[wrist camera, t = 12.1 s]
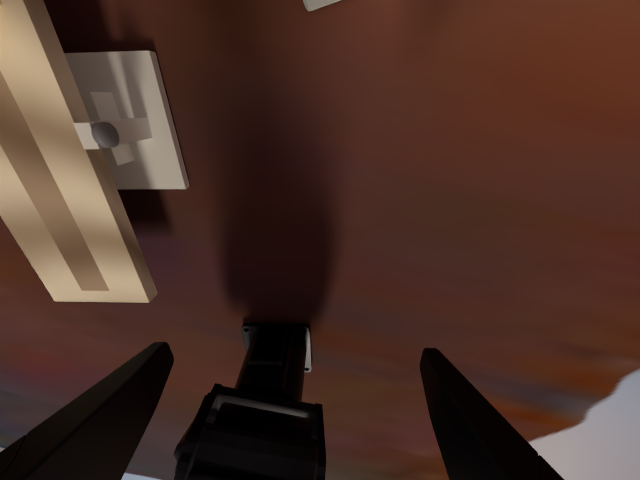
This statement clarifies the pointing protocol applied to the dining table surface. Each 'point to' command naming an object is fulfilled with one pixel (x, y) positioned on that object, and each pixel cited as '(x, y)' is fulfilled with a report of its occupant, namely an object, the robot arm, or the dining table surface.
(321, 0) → the small box
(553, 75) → the dining table surface
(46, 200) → the beam
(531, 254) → the dining table surface
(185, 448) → the robot arm
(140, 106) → the pivot stand
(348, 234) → the dining table surface
